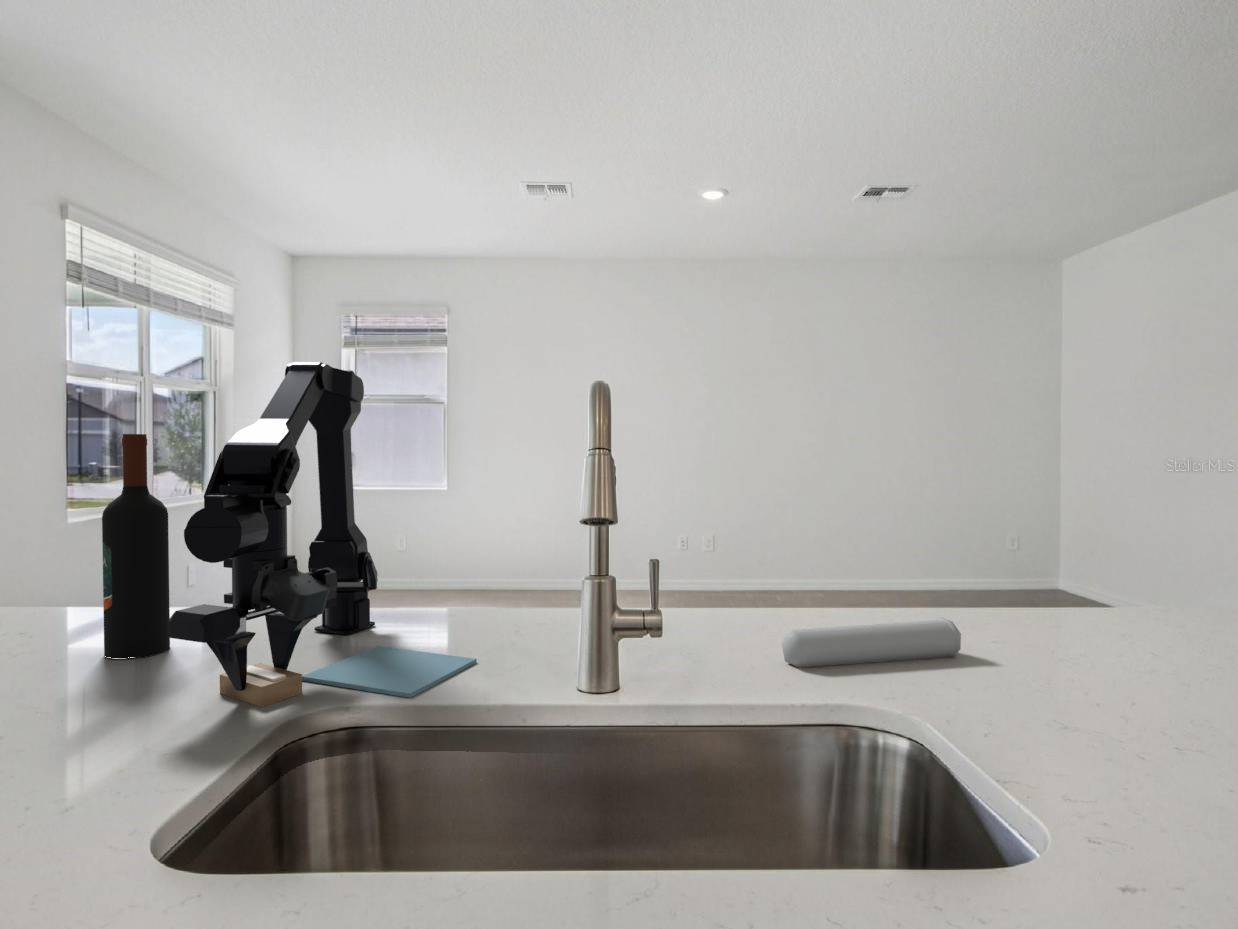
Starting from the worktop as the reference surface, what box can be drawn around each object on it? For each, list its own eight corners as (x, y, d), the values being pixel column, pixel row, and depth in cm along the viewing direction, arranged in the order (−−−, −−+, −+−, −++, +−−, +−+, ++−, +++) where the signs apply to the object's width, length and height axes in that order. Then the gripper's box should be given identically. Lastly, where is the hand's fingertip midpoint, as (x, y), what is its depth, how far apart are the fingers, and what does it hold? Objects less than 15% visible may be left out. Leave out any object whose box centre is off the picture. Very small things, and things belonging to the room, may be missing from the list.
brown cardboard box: (219, 693, 82) (219, 672, 82) (260, 681, 87) (260, 660, 86) (261, 706, 78) (261, 684, 78) (302, 693, 82) (302, 671, 82)
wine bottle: (137, 661, 94) (133, 433, 93) (89, 657, 95) (85, 433, 94) (183, 645, 101) (180, 434, 100) (138, 642, 103) (135, 434, 102)
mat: (301, 680, 87) (301, 676, 87) (378, 649, 100) (378, 645, 100) (410, 698, 81) (410, 693, 81) (476, 662, 94) (476, 658, 94)
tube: (796, 644, 90) (965, 632, 96) (778, 621, 95) (940, 611, 101) (789, 679, 92) (956, 665, 98) (772, 655, 97) (932, 642, 103)
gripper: (243, 566, 70) (245, 722, 71) (371, 541, 88) (372, 667, 88) (163, 558, 74) (165, 706, 75) (301, 537, 92) (302, 656, 92)
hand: (261, 682), depth 82 cm, fingers closed on brown cardboard box, 5 cm apart
